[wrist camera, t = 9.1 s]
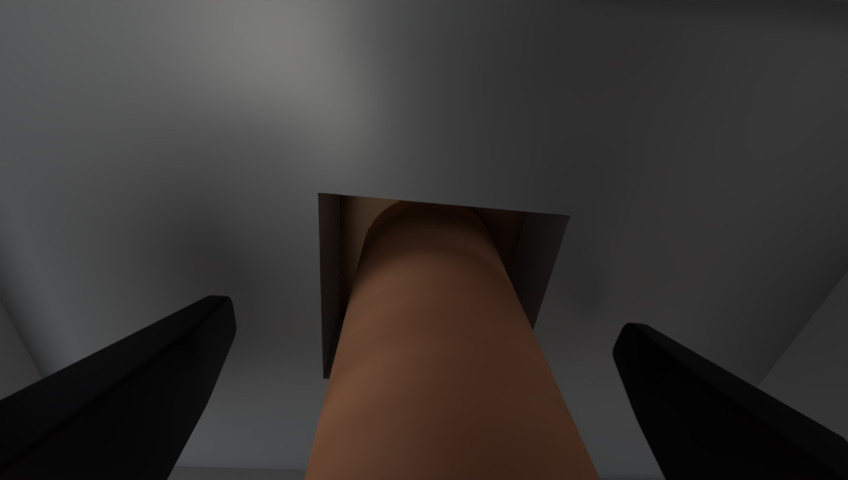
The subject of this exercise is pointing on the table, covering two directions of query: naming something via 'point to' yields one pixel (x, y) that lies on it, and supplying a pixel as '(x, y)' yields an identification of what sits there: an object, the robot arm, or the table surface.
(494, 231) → the table surface
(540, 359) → the peg
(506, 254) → the table surface
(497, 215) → the table surface
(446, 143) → the socket box
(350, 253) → the table surface
